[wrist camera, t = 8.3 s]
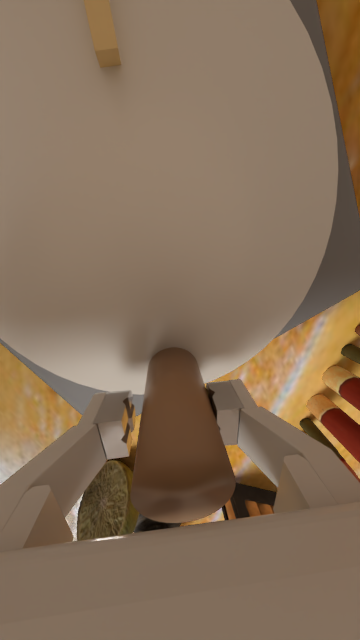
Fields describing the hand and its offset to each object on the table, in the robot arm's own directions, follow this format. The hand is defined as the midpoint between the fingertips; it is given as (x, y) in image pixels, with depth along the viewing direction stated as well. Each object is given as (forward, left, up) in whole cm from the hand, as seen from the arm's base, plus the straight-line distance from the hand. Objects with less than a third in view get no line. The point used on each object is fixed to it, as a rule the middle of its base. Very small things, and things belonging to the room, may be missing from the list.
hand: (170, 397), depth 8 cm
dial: (+3, +8, -3) cm, 9 cm away
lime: (-10, -8, -5) cm, 13 cm away
